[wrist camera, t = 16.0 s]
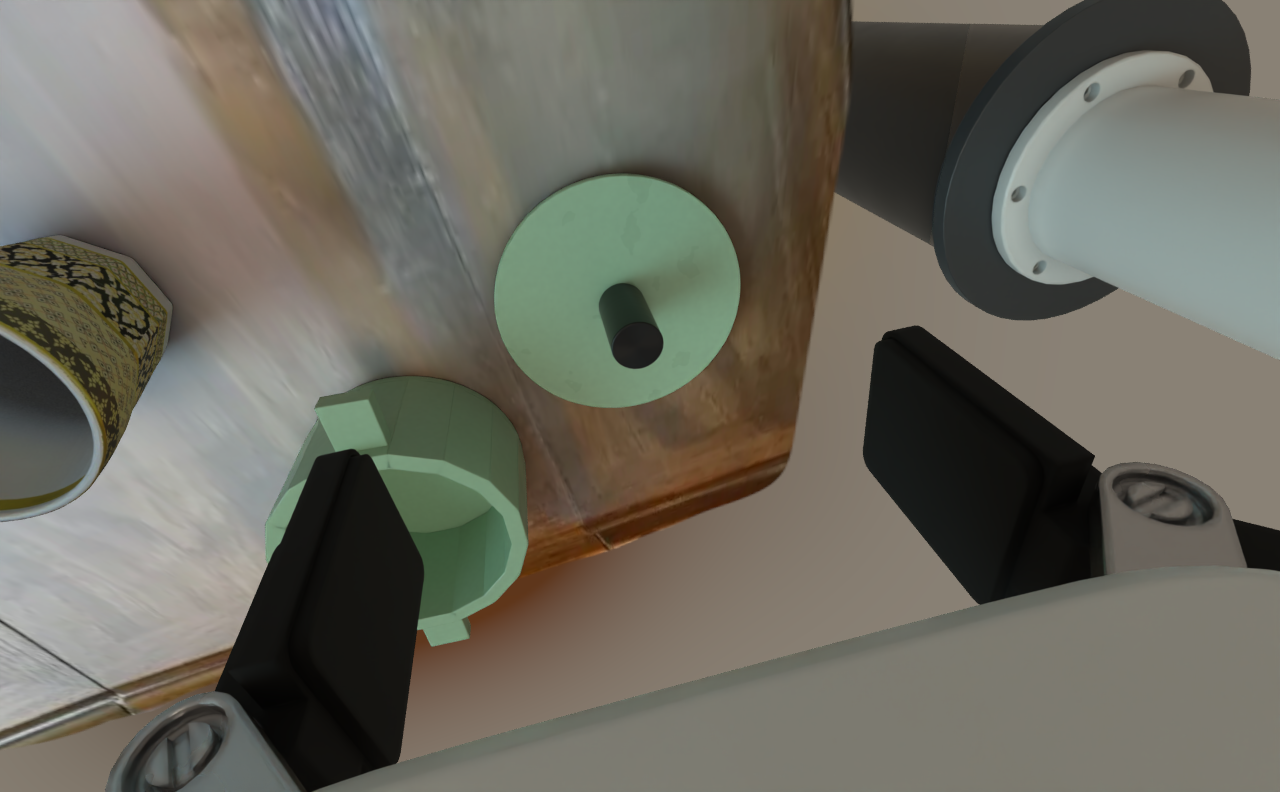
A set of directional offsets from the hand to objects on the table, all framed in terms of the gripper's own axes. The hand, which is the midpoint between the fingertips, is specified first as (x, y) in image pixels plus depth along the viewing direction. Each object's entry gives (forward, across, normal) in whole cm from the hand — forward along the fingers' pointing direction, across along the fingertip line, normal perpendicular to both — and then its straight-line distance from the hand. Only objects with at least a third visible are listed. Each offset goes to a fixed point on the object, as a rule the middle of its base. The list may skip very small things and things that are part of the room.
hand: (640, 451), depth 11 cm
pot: (+23, +12, +16) cm, 30 cm away
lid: (+22, -2, +7) cm, 23 cm away
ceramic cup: (+23, +24, +1) cm, 33 cm away
